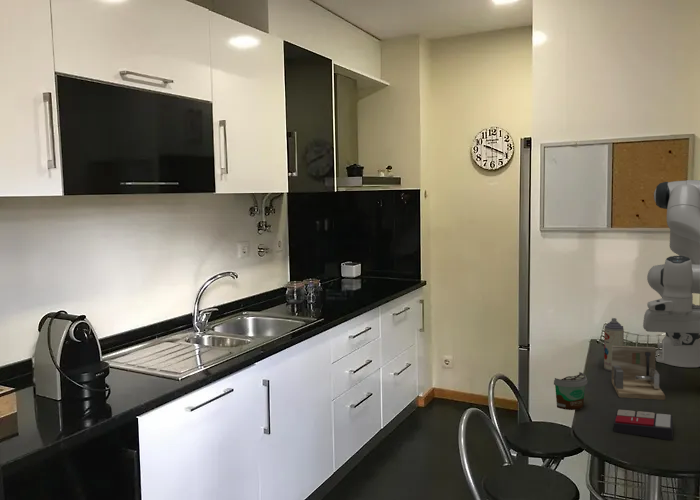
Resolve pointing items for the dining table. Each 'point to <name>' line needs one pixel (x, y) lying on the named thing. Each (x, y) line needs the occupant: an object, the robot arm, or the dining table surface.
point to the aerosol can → (612, 341)
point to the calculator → (644, 424)
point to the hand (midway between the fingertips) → (676, 345)
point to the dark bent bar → (647, 363)
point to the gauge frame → (633, 372)
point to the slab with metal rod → (651, 378)
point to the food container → (570, 392)
